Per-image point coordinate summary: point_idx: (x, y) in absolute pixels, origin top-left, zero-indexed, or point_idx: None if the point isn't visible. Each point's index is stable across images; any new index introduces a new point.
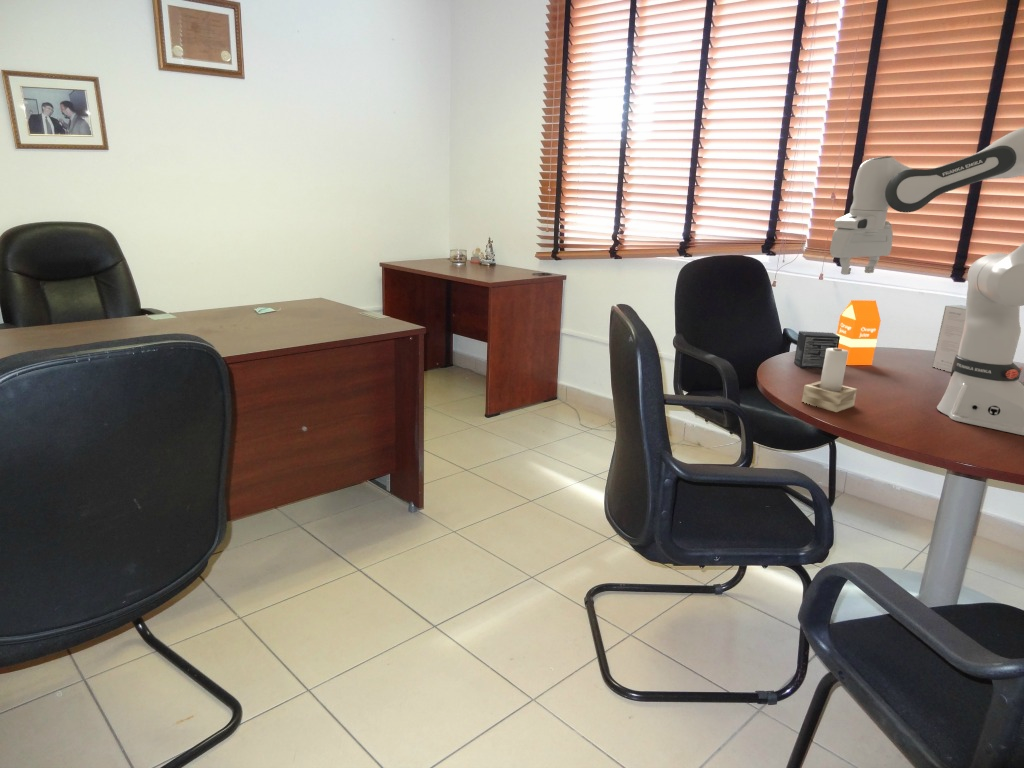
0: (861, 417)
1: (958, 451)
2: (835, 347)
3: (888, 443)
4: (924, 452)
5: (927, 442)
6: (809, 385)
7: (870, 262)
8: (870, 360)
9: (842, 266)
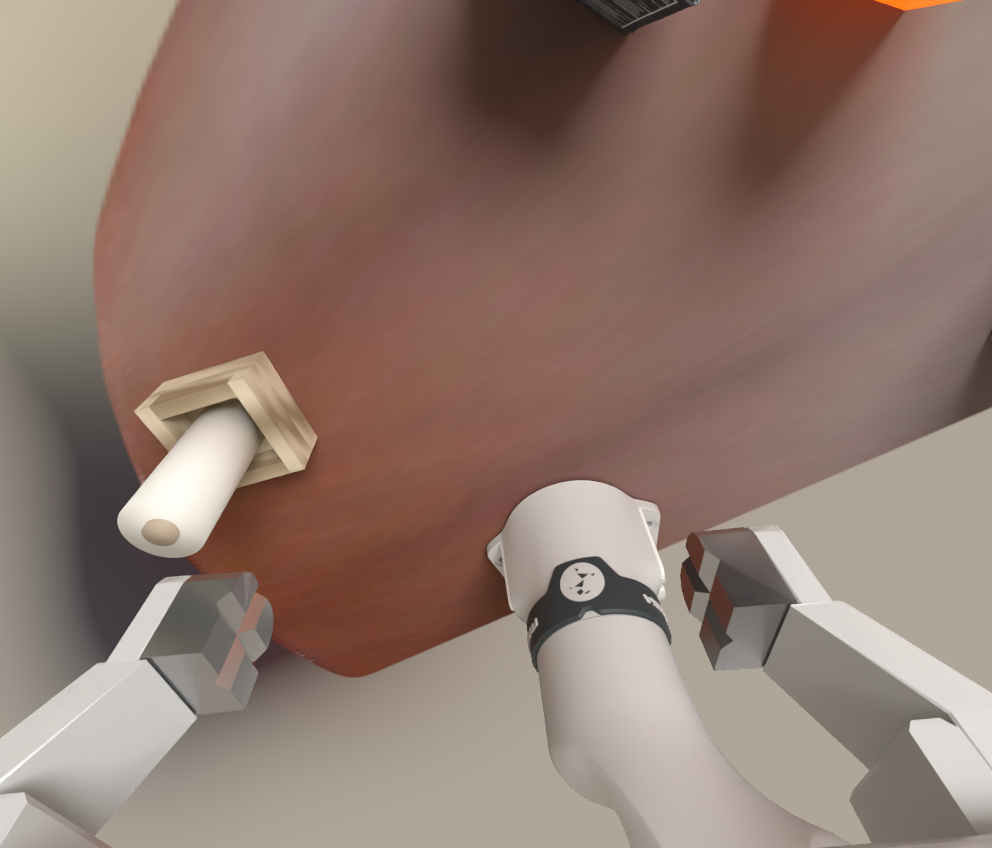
0: (275, 498)
1: (340, 631)
2: (653, 8)
3: None
4: None
5: (316, 603)
6: (153, 415)
7: (861, 678)
8: (917, 2)
9: (89, 694)
